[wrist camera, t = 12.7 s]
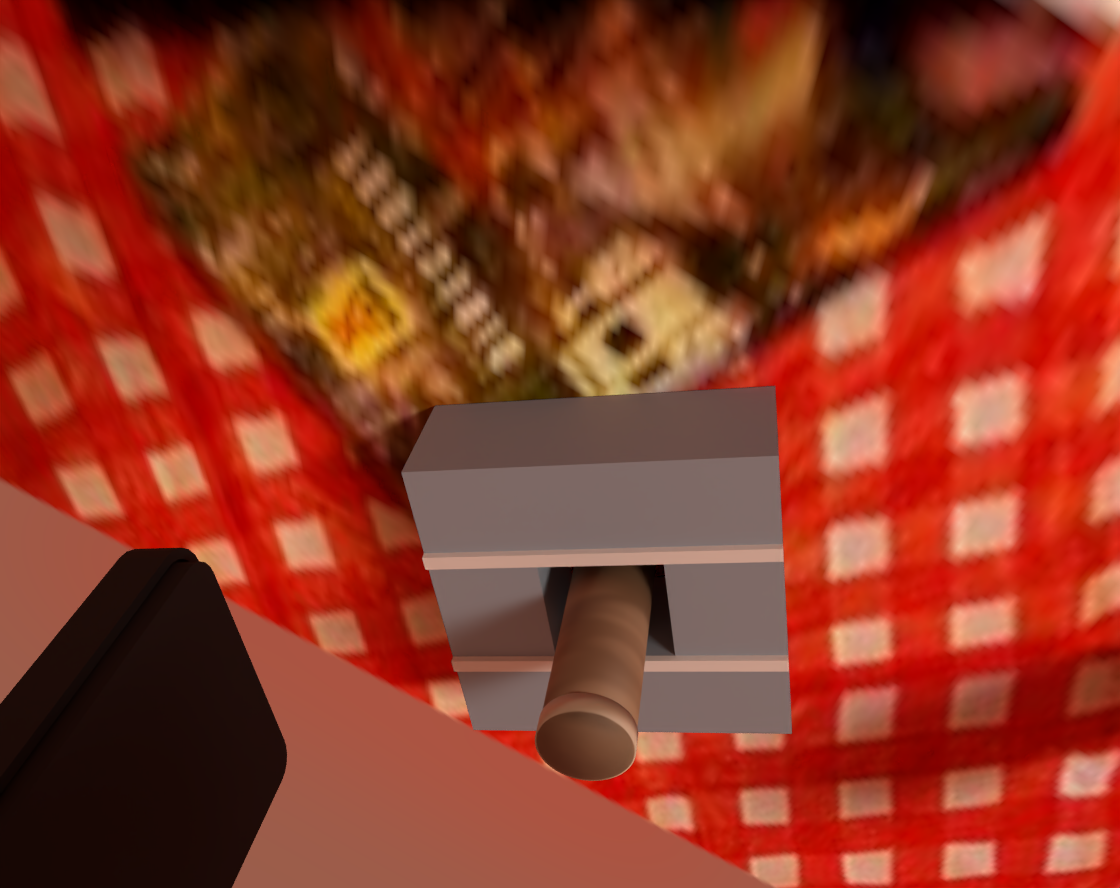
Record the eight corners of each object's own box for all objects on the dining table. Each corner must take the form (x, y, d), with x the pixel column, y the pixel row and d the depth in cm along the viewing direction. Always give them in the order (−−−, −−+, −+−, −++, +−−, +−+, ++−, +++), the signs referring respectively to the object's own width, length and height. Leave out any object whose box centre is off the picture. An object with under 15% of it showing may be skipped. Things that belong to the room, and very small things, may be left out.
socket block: (775, 385, 40) (778, 460, 35) (787, 650, 47) (792, 739, 42) (434, 405, 43) (399, 476, 38) (496, 651, 50) (472, 735, 45)
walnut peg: (656, 499, 43) (629, 710, 33) (664, 563, 45) (641, 781, 35) (576, 502, 44) (527, 709, 34) (587, 565, 46) (543, 779, 36)
